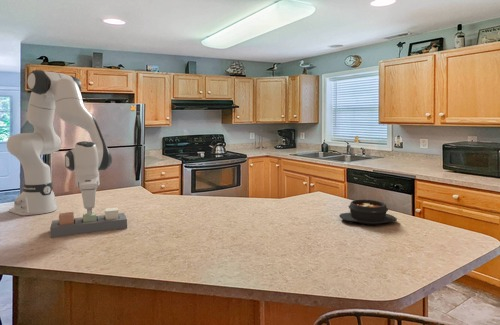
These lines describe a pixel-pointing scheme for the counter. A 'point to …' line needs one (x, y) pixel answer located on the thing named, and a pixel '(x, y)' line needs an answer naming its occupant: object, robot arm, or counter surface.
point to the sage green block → (89, 217)
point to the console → (87, 226)
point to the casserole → (368, 212)
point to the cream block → (111, 213)
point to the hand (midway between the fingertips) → (89, 214)
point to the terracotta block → (66, 218)
